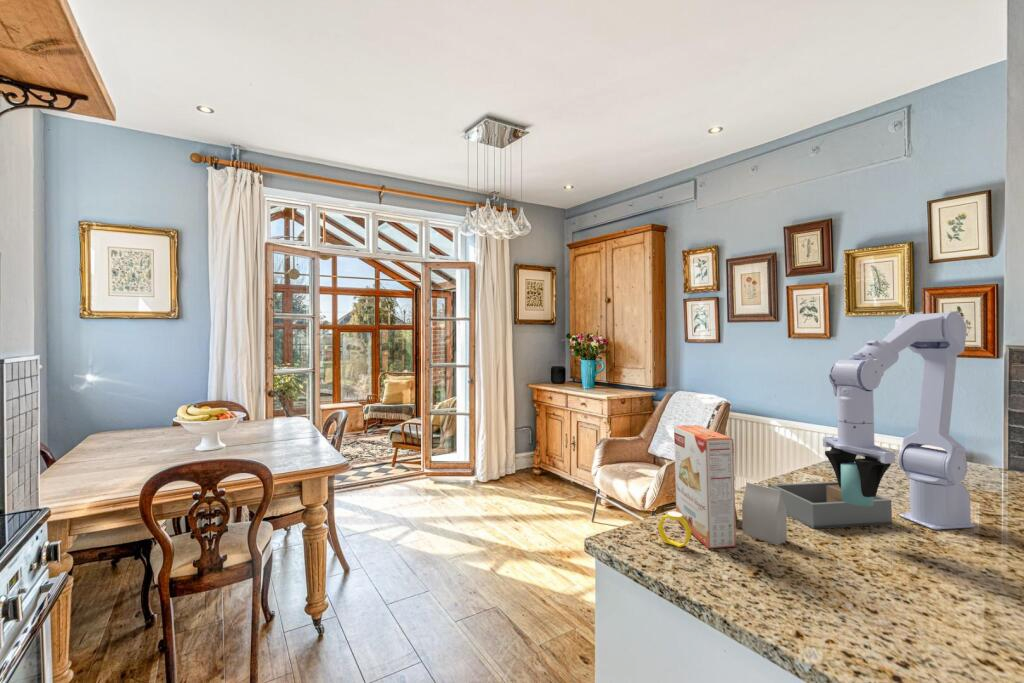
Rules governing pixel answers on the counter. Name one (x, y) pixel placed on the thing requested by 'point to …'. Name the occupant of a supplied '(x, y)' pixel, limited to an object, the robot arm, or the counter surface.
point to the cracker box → (706, 484)
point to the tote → (830, 507)
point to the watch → (679, 517)
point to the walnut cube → (833, 493)
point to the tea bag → (764, 514)
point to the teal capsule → (852, 486)
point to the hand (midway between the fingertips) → (856, 491)
